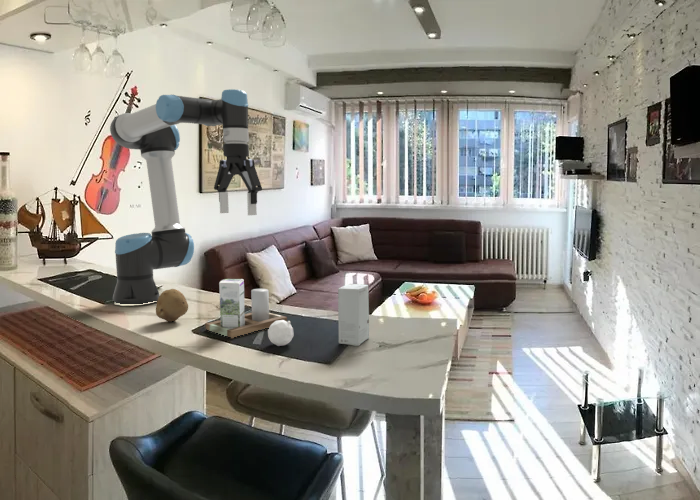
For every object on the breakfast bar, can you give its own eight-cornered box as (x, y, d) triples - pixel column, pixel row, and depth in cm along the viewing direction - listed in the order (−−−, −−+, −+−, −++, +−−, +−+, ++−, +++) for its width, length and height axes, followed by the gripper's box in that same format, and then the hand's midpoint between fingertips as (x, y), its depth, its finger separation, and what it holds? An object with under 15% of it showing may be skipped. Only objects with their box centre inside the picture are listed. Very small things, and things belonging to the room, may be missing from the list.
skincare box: (358, 346, 141) (359, 289, 139) (337, 344, 143) (337, 287, 141) (369, 337, 149) (370, 283, 147) (348, 335, 151) (349, 282, 149)
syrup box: (245, 327, 158) (244, 278, 156) (240, 333, 152) (239, 282, 150) (226, 327, 158) (224, 278, 156) (220, 333, 152) (218, 282, 150)
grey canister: (248, 323, 162) (247, 290, 161) (261, 320, 166) (260, 287, 165) (259, 326, 159) (258, 292, 158) (272, 323, 163) (272, 290, 162)
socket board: (205, 330, 155) (205, 323, 155) (260, 316, 170) (260, 310, 170) (231, 338, 148) (231, 331, 147) (286, 323, 163) (286, 316, 162)
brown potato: (195, 319, 167) (193, 287, 166) (177, 327, 159) (176, 293, 157) (169, 317, 170) (168, 285, 169) (151, 324, 162) (149, 291, 160)
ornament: (277, 339, 147) (294, 317, 146) (286, 354, 142) (303, 332, 141) (259, 331, 143) (275, 309, 142) (267, 347, 138) (285, 324, 137)
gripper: (201, 144, 170) (203, 212, 173) (252, 141, 154) (254, 216, 157) (221, 145, 176) (223, 211, 179) (273, 142, 160) (274, 215, 162)
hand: (237, 214), depth 168 cm, fingers open, 13 cm apart
